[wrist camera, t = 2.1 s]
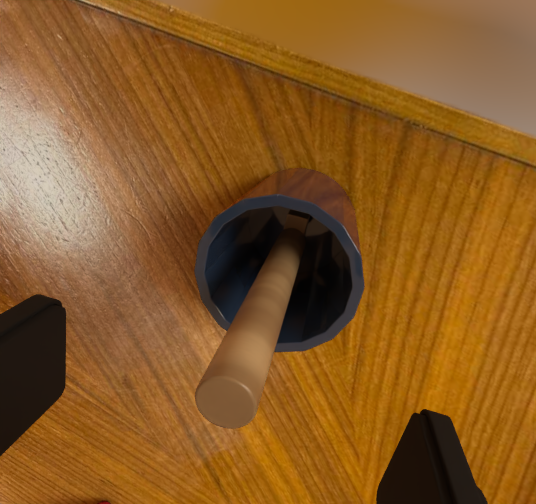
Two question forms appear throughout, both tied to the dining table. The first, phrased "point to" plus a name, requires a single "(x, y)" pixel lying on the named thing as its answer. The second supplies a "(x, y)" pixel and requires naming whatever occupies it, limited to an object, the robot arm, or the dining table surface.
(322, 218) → the holder
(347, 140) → the dining table surface
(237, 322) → the stirring stick
